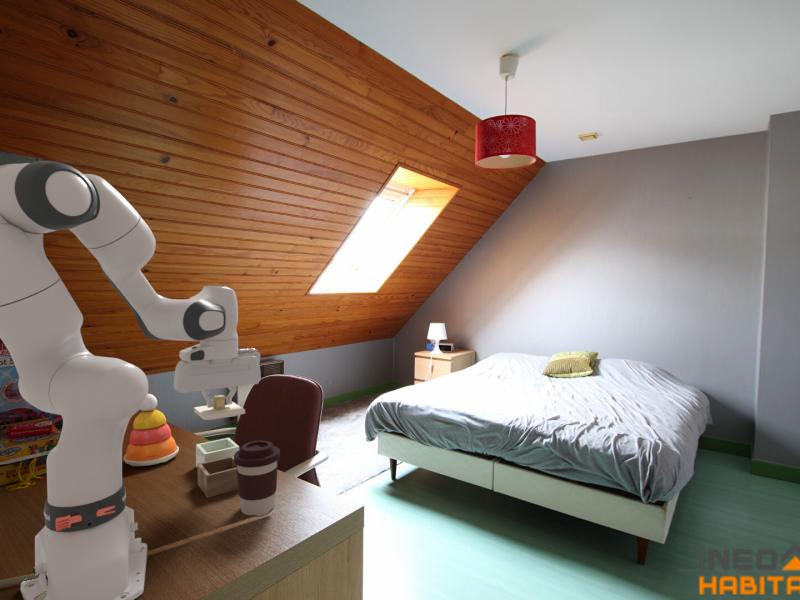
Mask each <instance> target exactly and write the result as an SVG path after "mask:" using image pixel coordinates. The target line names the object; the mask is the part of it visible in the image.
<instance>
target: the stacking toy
mask: <svg viewBox="0 0 800 600" xmlns="http://www.w3.org/2000/svg"><path fill="white" fill-rule="evenodd" d="M157 407H158V400H157V397H156V396H155V395H153V394H152V393H148V395H147V398H146V400H145V402H144V404H143V406H142V407H141V408H140V409H139V410H141V412H140V413H138V415H136V417H135V418H134V421H133V424H132V428H133V429H132V430H131V432H130V435H129V444H128V446H127V448H126V453H125V454H124V456H123V461H124V463H125V464H127V465H129V466H131V467H145V466H152V465H154V466H155V465H158V464H161V463H162V464H163V463H166V462H168V461H170V460H171V459H173V458H174V457H176V456H177V455H178V453H179V450H180V447H179V446H178V445H177V443H176V440H175V439H174V437H173V436H172V430H171V428H170V426H169V424H168V423H167V418H166V416H165V414H164V413H163V412H162V411H160V410H158V409H156V408H157Z"/></svg>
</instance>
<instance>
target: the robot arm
mask: <svg viewBox="0 0 800 600" xmlns="http://www.w3.org/2000/svg"><path fill="white" fill-rule="evenodd" d="M67 230H69V231H70V232H71V233H73V234H74V235H75V237H76V238H77V239H78V240H79V241H80V243H81V244H82V245H84V247H86V249H87V250H88V251H89V252H90V253H91V254H92V256H94V258H95V259H96V260H97V262H98V263H99V265H100V266H99V267H100V269H101V271H102V273H103V274H104V276H105V278H106V279H107V280H108V281H109V283H110V284H111V285H112V287H113V288H114V289H115V291H116V292H117V293H118V294H119V296H120V297H121V299H122V300H123V301H124V302H125V303H126V304H127V306H128V307H129V308H130V309H131V312H132V313H133V314H134V316H135V319H136V321H137V324H138V326H139V329H140V330H141V332H142V333H143V334H144V336H146V338H148V339H150V340H153V341H155V342H156V341H179V342H180V341H182V342H186V341H187V342H199V343H198V344H195V345H193V346H189V347H186V348H184V349H181V350H180V351H179V353H178V354H179V360H180V361H178V363H177V364H176V366H175V371H174V378H173V388H174V389H175V391H176V392H178V393H179V394H183V393H194V392H201V394H202V395H203V397H204V399H205V400H206V406H207V407H208V408H211V407H215V404H214V403H215V400H213V398H210V394H211V390H217V389H225V388H228V390H229V392H228V394H227V395H226V396H225V405H231V404H232V402H233V397H234V396H235V394H236V392H237V389H238V387H241V386H242V387H243V386H251V385H258V384H259V382H260V381H261V380H262V376H261V375H262V374H261V367H260V365H261V364H260V362H261V353H260V351H259V350H258V349H255V348H253V347H250V348H239V335H238V332H237V326H238V323H239V306H238V304H239V303H238V297H237V293H236V291H235V290H234V289H232V288H231V287H228V286H225V285H218V284H207V285H204V286H203V287H202V289H201V290H200V292H198V293H197V294H194V295H193V296H191V297H189V298H187V299H185V298H184V299H175V298H173V299H172V298H168V297H165V296H162V295H160V294H158V293H157V292H156V290H155V289H154V288H153V287H152V285H151V284H150V282H149V281H148V279H147V278H146V276H145V275H144V273H143V272H142V271H141V269H142V268H143V267H144V266H146V265H147V264H148V263H149V262H150V260H151V258H153V256H154V254H155V251H156V242H157V241H156V238H155V235H154V233H153V232H152V229H151V228H150V227H149V225H148V224H147V223H146V222H145V220H144V219H143V217H142V216H141V215H140V214H139V212H138V211H137V210H136V209H135V208H134V207H133V205H132V204H131V203H130V202H129V201H128V200H127V199H126V198H125V197H124V196H123V195H122V194H121V193H120V192H119V191H118V190H117V189H116V188H115V187H114V186H112V185H111V184H110V183H109V182H108V181H107V180H105V178H103V177H101V176H100V175H97V174H93V173H82V172H81V171H80V170H78V169H76V168H75V167H73V166H72V165H68V164H66V163H62V162H59V161H51V160H38V161H33V162H24V163H7V164H3V165H0V340H1V341H2V343H3V344H4V346H5V348H6V349H7V351H8V352H9V354H10V356H11V359H12V362H13V364H14V365H15V366H14V367H15V369H16V371H17V375H18V385H17V387H18V391H19V394H20V396H21V397H22V399H23V400H24V401H25V402H27V403H28V404H30V405H31V406H33V407H34V408H36V409H38V410H39V411H41V412H43V413H44V412H45V413H50V414H52V415H53V414H54V415H57V416H61V417H62V429H61V433H60V436H59V440H58V442H57V445H55V447H53V448H52V449H51V450H50V452H49V453H48V455H47V457H46V485H47V486H46V489H47V490H46V491H47V493H46V494H47V498H46V499H45V500H44V501H45V502H44V508H43V516H44V526H43V527H42V529H41V530H40V531H38V533H37V534H36V535H35V537H34V565H35V566H34V567H33V569H32V572H33V575H34V574H35V576H36V575H38V574H40V575H39V577H38V578H36V579H32V580H27V581H24V580H23V581H22V582H21V583H20V593H21V595H22V598H23V600H34V598H35V597H36V596H38V595H40V594H41V593H43V592H44V591H47V595H46V597H45V598H44V599H43V600H135V599H137V598H138V597H140V596H141V595H143V593H144V589H145V580H146V571H147V570H146V569H147V561H148V552H149V551H148V550H149V549H148V544H147V543H144V542H142V537H136V536H135V531H138V530H139V526H138V525H139V522H135V509H133V508H131V507H129V506H127V502H126V501H127V500H126V497H127V490H126V485H125V482H123V444H124V440H125V439H124V438H125V434H126V430H127V428H128V425H129V423H130V420H131V419H132V418H133V416H134V415H135V414H136V413H138V412H139V411H140V410H141V409H140V408H141V407H142V406H143V404H144V402H145V400H146V398H147V395H148V394H149V380H148V377H147V375H146V374H145V372H144V371H143V370H142V369H141V368H139V367H138V366H136V365H134V364H133V363H129V362H127V361H125V360H122V359H120V358H118V357H117V358H116V357H107V356H99V355H94V354H93V353H92V352H90V351H89V349H87V348H86V346H85V344H84V340H83V336H82V333H81V329H82V326H83V322H84V317H83V313H82V312H81V310H80V308H79V307H78V305H77V303H76V302H75V300H74V298H73V297H72V295H71V293H70V292H69V289H68V288H67V287H66V285H65V283H64V282H63V280H62V279H61V277H60V275H59V273H58V272H57V270H56V269H55V268H54V266H53V265H52V263H51V261H49V259H48V258H47V255H46V253H45V248H44V234H49V233H51V232H56V231H67ZM135 537H136V538H135Z"/></svg>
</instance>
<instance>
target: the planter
mask: <svg viewBox="0 0 800 600" xmlns="http://www.w3.org/2000/svg"><path fill="white" fill-rule="evenodd" d="M239 450H240V446H239V445H238V444H237V443H236V442H235V441H234V440H233V439H231V438H230V437H226V438H220V439H215V440H211V441H206V442H202V443H197V444H196V443H195V467H196V468H197V464H200V463H204V462H208V461H213V460H217V459H221V458H226V457H230V456H234V455H235V453H236V452H237V451H239Z"/></svg>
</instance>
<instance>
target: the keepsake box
mask: <svg viewBox="0 0 800 600" xmlns="http://www.w3.org/2000/svg"><path fill="white" fill-rule="evenodd" d="M196 469H197V485H198V487H199V489H200V490H201V491H202V493H203V494H204V495H205V497H206V498H207V499H209V498H212V497H215V496H219V495H222V494H223V495H224V494H226V493H230V492H234V491H238V481H237V469H238V468H237V465H236V464H235V463H234V456H230V457H226V458H221V459H217V460H213V461H208V462H204V463H200V464H197V467H196ZM216 472H217V473H216Z"/></svg>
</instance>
